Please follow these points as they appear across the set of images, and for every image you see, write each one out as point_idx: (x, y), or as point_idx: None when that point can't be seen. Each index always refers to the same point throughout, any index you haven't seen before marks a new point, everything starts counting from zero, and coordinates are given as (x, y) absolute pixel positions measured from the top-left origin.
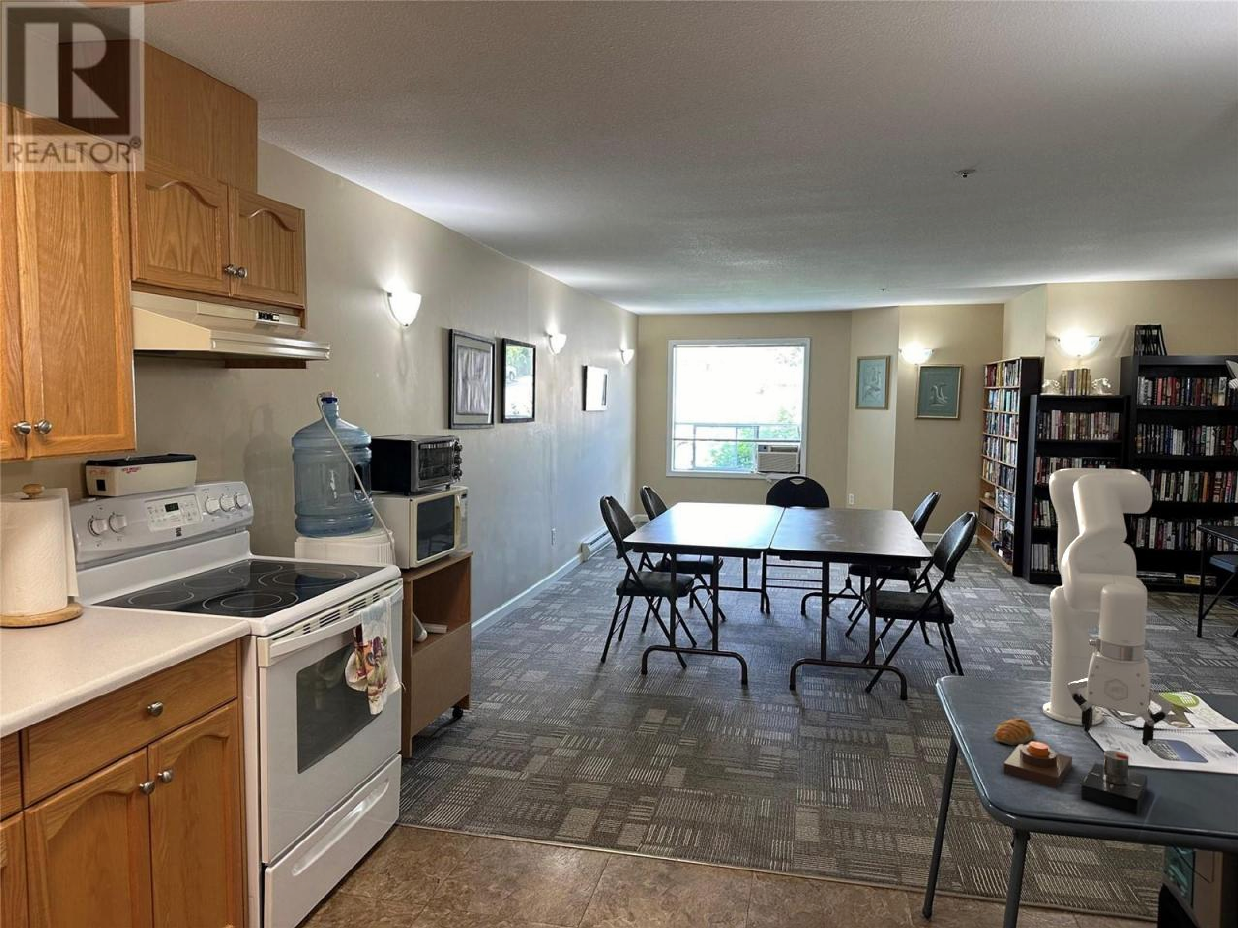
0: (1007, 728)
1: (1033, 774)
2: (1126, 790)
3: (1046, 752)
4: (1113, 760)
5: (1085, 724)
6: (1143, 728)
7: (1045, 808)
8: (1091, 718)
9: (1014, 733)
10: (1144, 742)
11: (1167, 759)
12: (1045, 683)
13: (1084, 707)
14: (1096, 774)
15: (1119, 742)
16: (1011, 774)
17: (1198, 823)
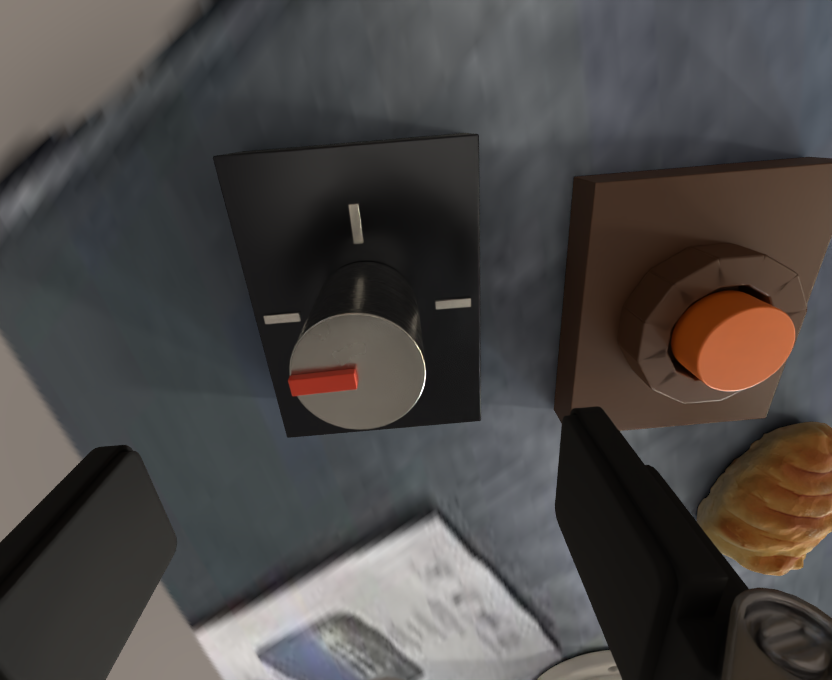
0: (823, 491)
1: (700, 171)
2: (292, 232)
3: (692, 326)
4: (354, 307)
5: (620, 444)
6: (5, 587)
7: None
8: (587, 565)
9: (790, 476)
10: (99, 457)
11: (334, 615)
12: None
13: (779, 652)
14: (447, 305)
15: (463, 630)
16: (778, 159)
17: (57, 260)
